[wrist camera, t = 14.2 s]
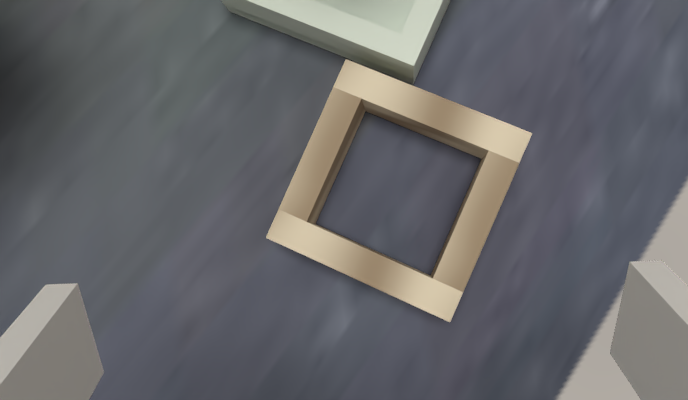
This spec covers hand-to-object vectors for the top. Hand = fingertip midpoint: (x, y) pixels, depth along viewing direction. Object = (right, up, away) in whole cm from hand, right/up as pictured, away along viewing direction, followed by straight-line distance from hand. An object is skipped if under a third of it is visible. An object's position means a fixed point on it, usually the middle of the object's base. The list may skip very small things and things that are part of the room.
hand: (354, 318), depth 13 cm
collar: (+3, +3, +15) cm, 15 cm away
